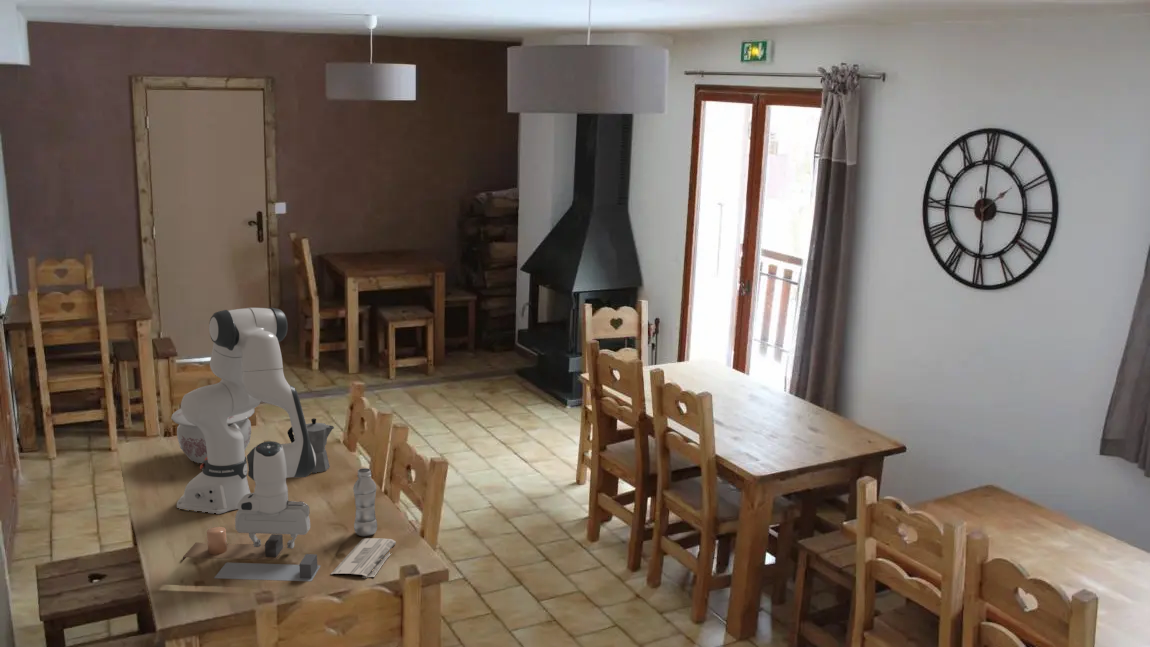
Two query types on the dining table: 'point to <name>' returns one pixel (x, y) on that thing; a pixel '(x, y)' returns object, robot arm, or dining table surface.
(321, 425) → the coffeepot
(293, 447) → the robot arm
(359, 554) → the newspaper
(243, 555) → the walnut strip
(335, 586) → the dining table surface
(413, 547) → the dining table surface
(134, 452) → the dining table surface
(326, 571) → the dining table surface
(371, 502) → the plastic bottle
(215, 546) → the canister
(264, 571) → the grey strip
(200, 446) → the chamber pot
